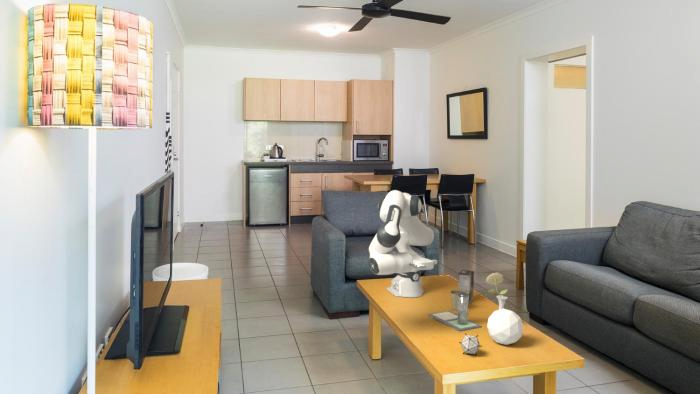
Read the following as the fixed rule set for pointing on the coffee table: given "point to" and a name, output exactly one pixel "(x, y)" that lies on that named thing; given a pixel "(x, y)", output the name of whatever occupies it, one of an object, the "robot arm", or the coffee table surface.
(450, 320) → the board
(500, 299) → the flower in vase
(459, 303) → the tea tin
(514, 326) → the geometric sphere
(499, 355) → the coffee table surface
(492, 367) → the coffee table surface
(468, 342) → the game die
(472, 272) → the coffee box
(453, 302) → the flower pot
